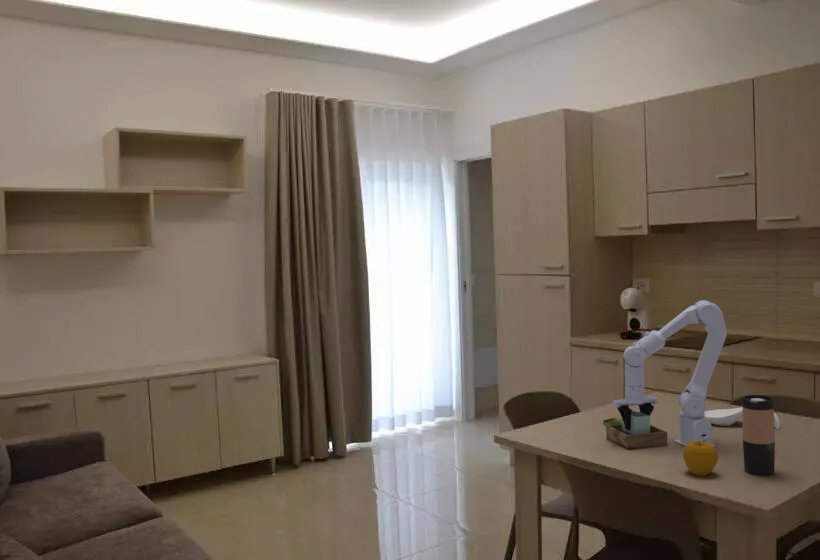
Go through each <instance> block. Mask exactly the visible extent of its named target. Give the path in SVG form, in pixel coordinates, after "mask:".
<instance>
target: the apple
mask: <svg viewBox="0 0 820 560" xmlns="http://www.w3.org/2000/svg"><path fill="white" fill-rule="evenodd" d="M682 452H683V455H682V456H683V457H682V458H683V460H684V464H685V466H686V467H687V469H688V470H689V472H690V473H691V474H692V475H695V476H699V477H700V476H701V477H703V476H704V477H706V476H708V475H709V474H711V473H712V471H714V468H715V467H716V465H717V463H718V461H719V453H718V451H717V450H716V448H715V447H713V445H711V444H709V443H707V442H702V441H691V442H689V443H687V444H686V446H684V448H683V450H682Z"/></svg>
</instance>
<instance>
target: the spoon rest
mask: <svg viewBox="0 0 820 560" xmlns="http://www.w3.org/2000/svg"><path fill="white" fill-rule="evenodd" d="M704 413H705V418H706V420H708V421H709V422H710V423H711V425H713V424H714V425H713V426H719V425H720V426H721V427H722V426H723V427H728V426H733V424H735V423H737V422H738V421H739V420H740V419H741V418H743V414H742V406H741V407H735V408H724V409H723V408H721V409H710V410H705V411H704ZM780 428H781V423H780V419H779V416H778V415H777V414H776V413H775V411H774V429H775V430H777V431H778V430H780Z"/></svg>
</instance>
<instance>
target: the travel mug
mask: <svg viewBox="0 0 820 560" xmlns="http://www.w3.org/2000/svg"><path fill="white" fill-rule="evenodd" d="M741 399H742V400H741V401H742V403H741V405H742V406H741V407H742V414H743V416H742V446H743V447H742V449H743V450H742V451H743V466H744V467H743V468H744V472H745V473H747V474H749V475H752V476H757V477H758V476H760V477H769V476H773V475H775V468H776V467H775V461H776V455H775V453H776V439H775V438H776V437H775V434H776V433H775V431H776V428H775V423H774V412H775V403H774V401H775V400H774V398H773V397H771V396H768V395H760V394H751V395H749V394H747V395H743V396H742V398H741Z"/></svg>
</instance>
